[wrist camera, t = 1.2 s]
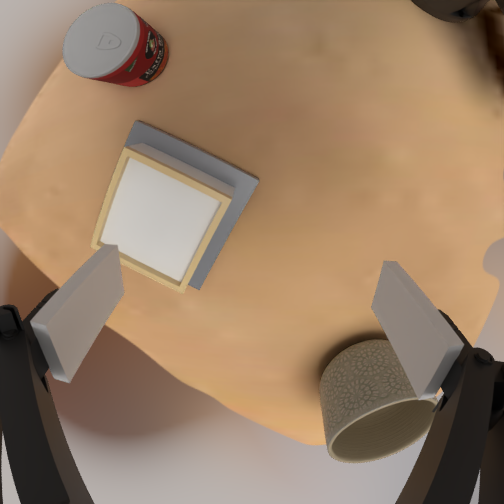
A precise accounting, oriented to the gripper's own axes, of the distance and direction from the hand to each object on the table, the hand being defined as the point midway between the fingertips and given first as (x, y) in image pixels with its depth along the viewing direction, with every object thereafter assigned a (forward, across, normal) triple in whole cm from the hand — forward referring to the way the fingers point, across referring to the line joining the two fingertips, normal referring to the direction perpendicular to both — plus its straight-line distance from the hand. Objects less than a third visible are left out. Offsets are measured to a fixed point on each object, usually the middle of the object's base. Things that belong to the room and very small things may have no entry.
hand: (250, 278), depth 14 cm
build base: (+23, -10, -3) cm, 25 cm away
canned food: (+23, -14, +15) cm, 31 cm away
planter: (+23, +20, -28) cm, 42 cm away
